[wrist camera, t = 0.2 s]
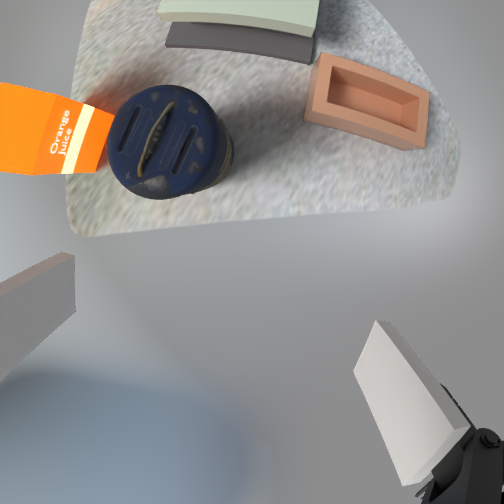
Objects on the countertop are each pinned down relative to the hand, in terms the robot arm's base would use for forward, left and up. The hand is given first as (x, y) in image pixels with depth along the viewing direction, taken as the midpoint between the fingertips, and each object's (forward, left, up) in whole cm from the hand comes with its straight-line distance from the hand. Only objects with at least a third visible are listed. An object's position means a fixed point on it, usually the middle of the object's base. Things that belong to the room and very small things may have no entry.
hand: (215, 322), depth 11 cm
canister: (-7, -7, -28) cm, 30 cm away
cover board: (-29, -5, -21) cm, 37 cm away
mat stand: (-29, -5, -28) cm, 41 cm away
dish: (-18, +13, -28) cm, 36 cm away
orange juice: (-8, -25, -28) cm, 39 cm away
